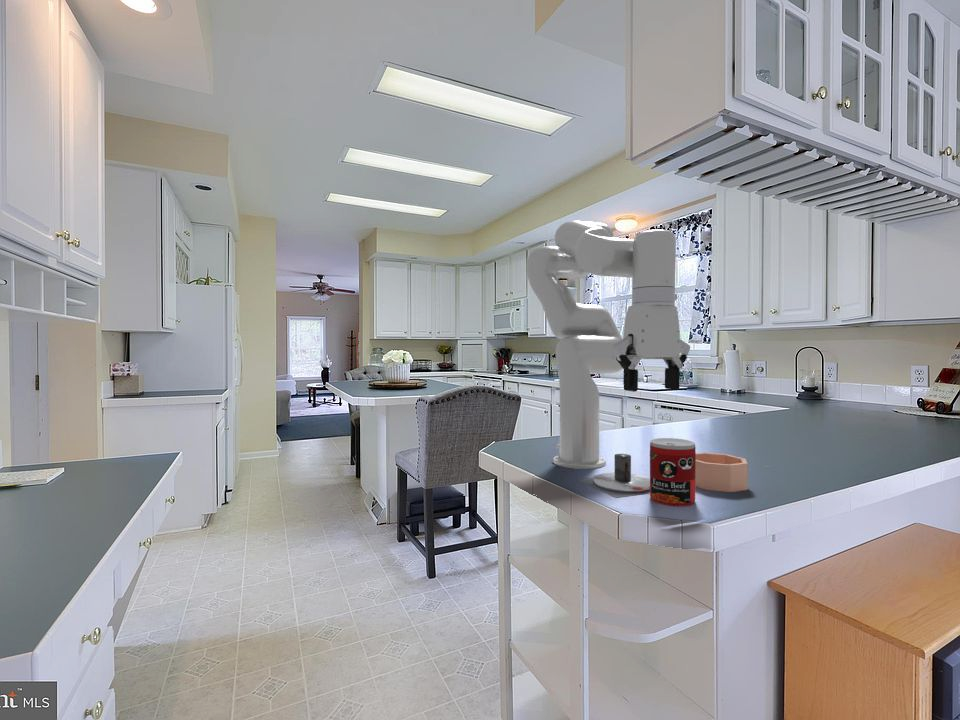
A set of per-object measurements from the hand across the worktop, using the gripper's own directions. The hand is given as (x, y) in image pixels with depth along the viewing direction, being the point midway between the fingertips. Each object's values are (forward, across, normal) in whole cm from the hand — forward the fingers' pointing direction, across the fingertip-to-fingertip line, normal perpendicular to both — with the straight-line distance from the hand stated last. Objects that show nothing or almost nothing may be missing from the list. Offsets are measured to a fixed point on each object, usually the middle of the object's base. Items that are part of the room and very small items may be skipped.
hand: (651, 389), depth 87 cm
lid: (+20, +1, -7) cm, 21 cm away
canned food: (+20, -2, +4) cm, 21 cm away
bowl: (+20, -18, -1) cm, 27 cm away
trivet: (+20, +1, -7) cm, 22 cm away
